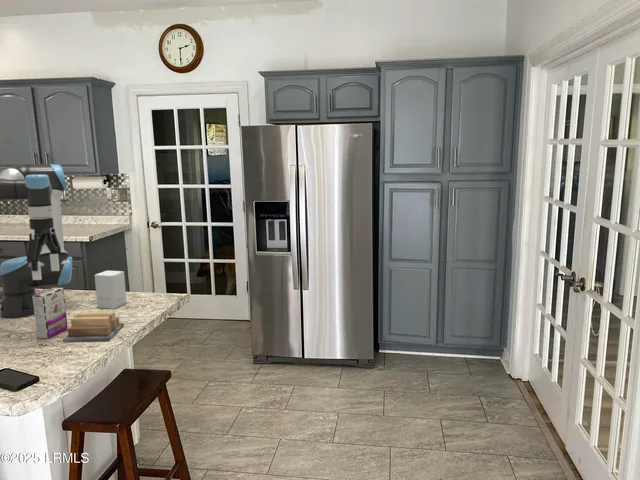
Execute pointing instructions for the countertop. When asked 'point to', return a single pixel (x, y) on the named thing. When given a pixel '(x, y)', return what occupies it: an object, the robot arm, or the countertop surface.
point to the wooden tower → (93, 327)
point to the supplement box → (110, 289)
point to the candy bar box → (50, 312)
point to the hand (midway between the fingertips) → (46, 275)
